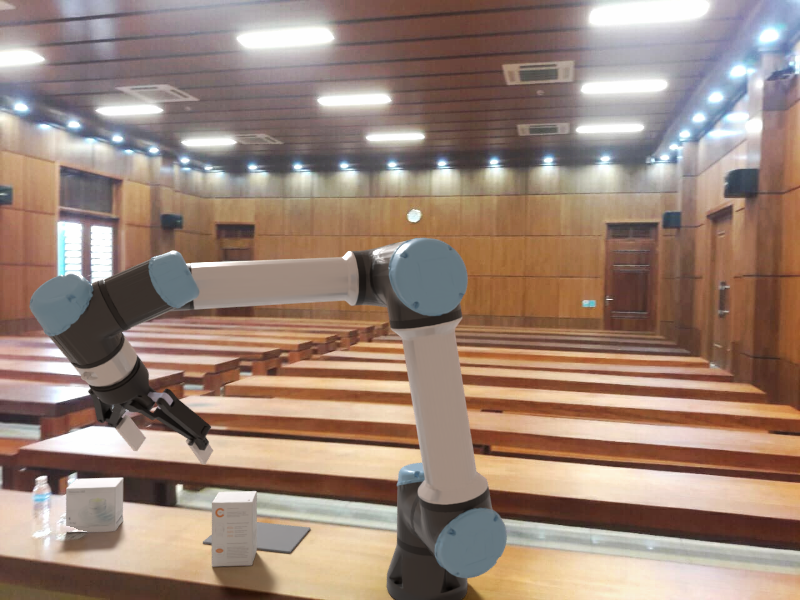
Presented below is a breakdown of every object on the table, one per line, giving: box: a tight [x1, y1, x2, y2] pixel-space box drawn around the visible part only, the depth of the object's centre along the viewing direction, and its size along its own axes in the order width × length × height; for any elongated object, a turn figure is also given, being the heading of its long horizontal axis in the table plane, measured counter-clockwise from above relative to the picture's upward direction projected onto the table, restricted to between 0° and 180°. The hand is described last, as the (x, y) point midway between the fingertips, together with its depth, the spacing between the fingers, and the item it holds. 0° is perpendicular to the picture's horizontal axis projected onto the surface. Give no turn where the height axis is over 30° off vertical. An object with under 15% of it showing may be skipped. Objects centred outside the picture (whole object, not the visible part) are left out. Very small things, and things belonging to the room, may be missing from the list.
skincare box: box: [65, 477, 124, 533], centre depth 133 cm, size 10×6×10 cm, turn 99°
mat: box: [202, 521, 311, 554], centre depth 130 cm, size 20×12×1 cm, turn 79°
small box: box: [211, 490, 258, 568], centre depth 119 cm, size 8×6×13 cm
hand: (173, 450), depth 98 cm, fingers open, 13 cm apart
